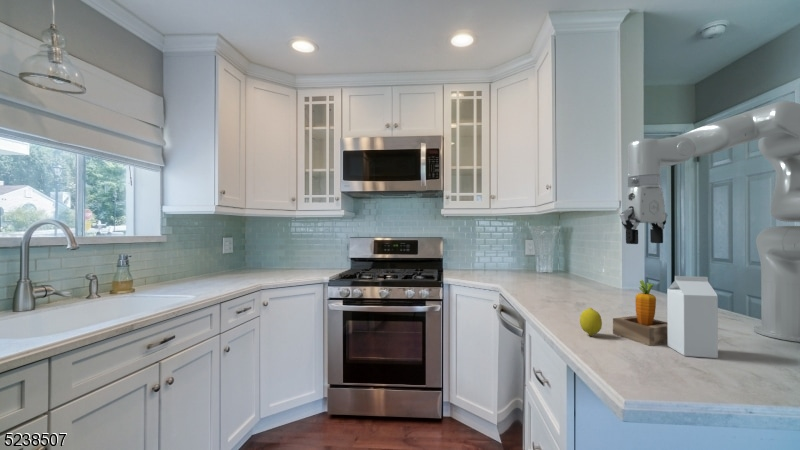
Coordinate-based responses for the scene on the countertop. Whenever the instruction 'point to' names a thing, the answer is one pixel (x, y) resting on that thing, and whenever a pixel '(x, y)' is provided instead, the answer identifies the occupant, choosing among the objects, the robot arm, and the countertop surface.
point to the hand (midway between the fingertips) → (644, 243)
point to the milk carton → (692, 317)
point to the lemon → (590, 321)
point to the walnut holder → (641, 330)
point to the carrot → (645, 305)
